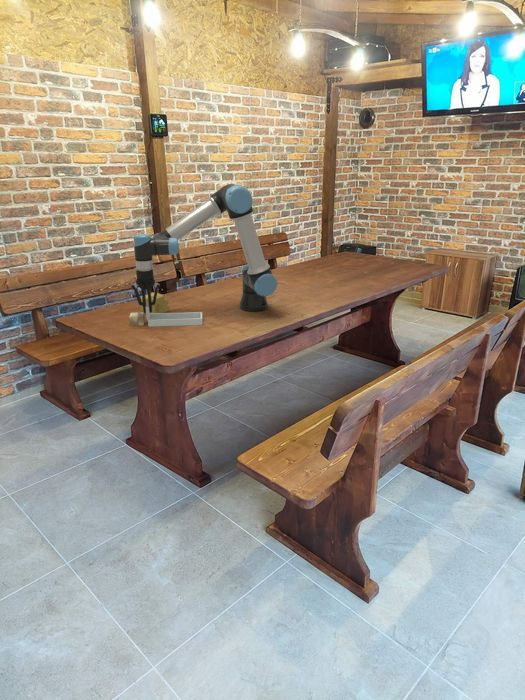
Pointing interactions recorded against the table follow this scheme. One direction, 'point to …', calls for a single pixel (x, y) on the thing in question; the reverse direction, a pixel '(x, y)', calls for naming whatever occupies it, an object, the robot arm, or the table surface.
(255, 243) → the robot arm
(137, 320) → the block
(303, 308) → the table surface
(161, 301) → the cheese
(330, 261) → the table surface
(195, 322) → the channel
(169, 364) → the table surface
